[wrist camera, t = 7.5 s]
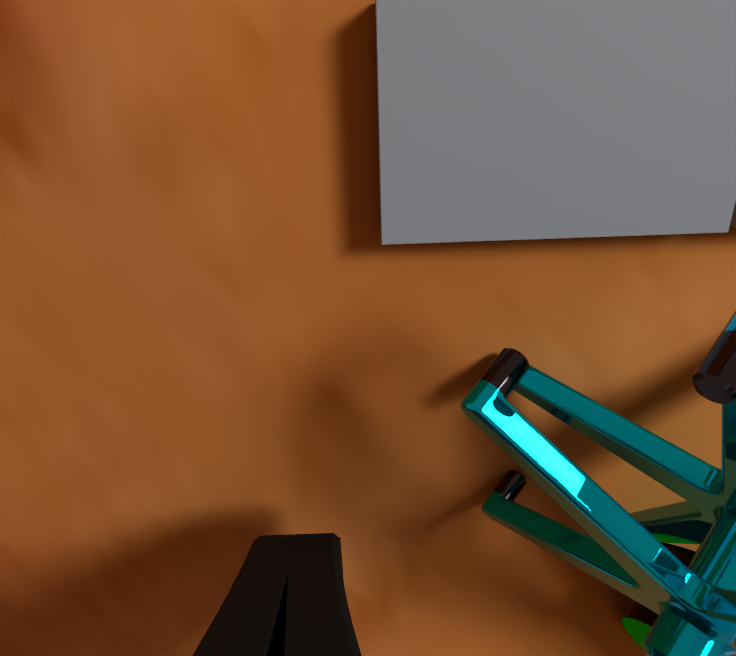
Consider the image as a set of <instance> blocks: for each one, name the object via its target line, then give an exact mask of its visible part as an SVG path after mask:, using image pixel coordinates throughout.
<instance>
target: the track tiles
mask: <svg viewBox="0 0 736 656" xmlns="http://www.w3.org/2000/svg"><path fill="white" fill-rule="evenodd" d="M375 18H376V60H377V101H378V143H379V185H380V226H381V240H382V245H386V244H414V243H442V242H470V241H499V240H527V239H555V238H583V237H611V236H639V235H667V234H695V233H723V232H728V231H729V226H730V225H731V226H732V227H734V228H736V0H375Z"/></svg>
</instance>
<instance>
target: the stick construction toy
mask: <svg viewBox="0 0 736 656" xmlns="http://www.w3.org/2000/svg"><path fill="white" fill-rule="evenodd" d="M691 381H692V384H693V386H694V388H695V389H696V391H697V392H698V393H699V394H700V395H702V396H703V397H705V398H706V399H708V400H710V401H713V402H716V403H720V404H722V469H719V468H716V467H714V466H712V465H710V464H708V463H706V462H704V461H703V460H701V459H699V458H697V457H695V456H694V455H692V454H690V453H688V452H686V451H685V450H683V449H681V448H679V447H677V446H676V445H674V444H672V443H670V442H668V441H666V440H665V439H663V438H661V437H659V436H657V435H656V434H654V433H652V432H650V431H648V430H647V429H645V428H643V427H641V426H639V425H638V424H636V423H634V422H632V421H630V420H628V419H627V418H625V417H623V416H621V415H619V414H618V413H616V412H614V411H612V410H610V409H609V408H607V407H605V406H603V405H601V404H599V403H598V402H596V401H594V400H592V399H590V398H589V397H587V396H585V395H583V394H581V393H580V392H578V391H576V390H574V389H572V388H571V387H569V386H567V385H565V384H563V383H561V382H560V381H558V380H556V379H554V378H552V377H551V376H549V375H547V374H545V373H543V372H542V371H540V370H538V369H536V368H534V367H533V366H531V365H529V362H528V360H527V358H526V357H525V356H524V355H523V354H522V353H520V352H519V351H517V350H515V349H512V348H504V349H503V350H502V351H501V352H500V354H499V355H498V356H497V357H496V359H495V360H494V361H493V362H492V364H491V365H490V366H489V367H488V369H487V370H486V371H485V372H484V374H483V375H482V376H481V377H480V379H479V380H478V381H477V382H476V384H475V385H474V386H473V387H472V389H471V390H470V391H469V392H468V394H467V395H466V396H465V397H464V399H463V400H462V402H461V408H462V410H463V412H464V413H465V414H466V415H467V416H468V417H469V418H470V419H471V420H472V421H473V422H474V423H475V424H476V425H477V426H478V427H479V428H480V429H481V430H482V431H483V432H484V433H485V434H486V435H487V436H488V437H489V438H491V439H492V440H493V441H494V442H495V443H496V444H497V445H498V446H499V447H500V448H501V449H502V450H503V451H504V452H505V453H506V454H507V455H508V456H509V457H510V458H511V459H512V460H513V461H514V462H515V463H516V464H517V465H518V466H519V467H520V468H521V469H522V470H523V471H524V472H525V473H526V474H527V475H528V476H529V477H530V478H531V479H532V480H533V481H534V482H535V483H536V484H538V485H539V486H540V487H541V488H542V489H543V490H544V491H545V492H546V493H547V494H548V495H549V496H550V497H551V498H552V499H553V500H554V501H555V502H556V503H557V504H558V505H559V506H560V507H561V508H562V509H563V510H564V511H565V512H566V513H567V514H568V515H569V516H570V517H571V518H572V519H573V520H574V521H575V522H576V523H577V524H578V525H579V526H580V527H581V528H582V529H583V530H585V531H586V532H587V533H588V534H589V535H590V536H591V537H589V536H587V535H585V534H583V533H581V532H579V531H576V530H574V529H572V528H570V527H568V526H566V525H563V524H561V523H559V522H557V521H555V520H552V519H550V518H548V517H546V516H544V515H542V514H540V513H537V512H535V511H533V510H531V509H529V508H527V507H524V506H522V505H520V504H518V503H516V502H514V500H515V498H516V497H517V496H518V494H519V493H520V491H521V490H522V489H523V487H524V486H525V485H526V483H527V482H526V479H525V477H524V476H523V475H522V474H520V473H519V472H518V471H516V470H510V471H509V472H507V473H506V474H505V475H504V477H503V478H502V479H501V481H500V482H499V483H498V485H497V486H496V487H495V489H494V490H493V492H492V493H491V494H490V496H489V497H488V498H487V500H486V501H485V502H484V504H483V505H482V511H483V512H484V513H485V514H486V515H487V516H488V517H489V518H491V519H492V520H494V521H496V522H498V523H499V524H501V525H503V526H505V527H506V528H508V529H510V530H512V531H513V532H515V533H517V534H519V535H520V536H522V537H524V538H526V539H527V540H529V541H531V542H533V543H534V544H536V545H538V546H540V547H541V548H543V549H545V550H547V551H549V552H550V553H552V554H554V555H556V556H557V557H559V558H561V559H563V560H564V561H566V562H568V563H570V564H571V565H573V566H575V567H577V568H578V569H580V570H582V571H584V572H585V573H587V574H589V575H591V576H592V577H594V578H596V579H598V580H599V581H601V582H603V583H605V584H606V585H608V586H610V587H612V588H613V589H615V590H617V591H619V592H620V593H622V594H624V595H626V596H628V597H629V598H631V599H633V600H635V601H634V602H632V604H631V606H630V607H629V609H628V611H627V612H626V614H625V615H624V617H623V619H622V624H623V626H624V628H625V629H626V631H627V632H628V633H629V635H630V636H631V637H632V638H633V639H634V640H635V642H636V643H637V644H638V645H639V646H640V647H641V648H642V649H643V650H644V654H645V656H736V311H735V313H734V314H733V316H732V317H731V319H730V320H729V322H728V323H727V325H726V326H725V328H724V329H723V331H722V332H721V334H720V335H719V337H718V338H717V340H716V341H715V343H714V344H713V346H712V347H711V349H710V350H709V352H708V353H707V355H706V356H705V358H704V359H703V361H702V362H701V364H700V365H699V367H698V369H697V370H696V372H695V373H694V375H693V376H692V379H691ZM513 390H514V391H516V392H517V393H519V394H521V395H522V396H524V397H525V398H527V399H528V400H530V401H532V402H533V403H535V404H536V405H538V406H539V407H541V408H543V409H544V410H546V411H547V412H549V413H550V414H552V415H554V416H555V417H557V418H558V419H560V420H562V421H563V422H565V423H566V424H568V425H569V426H571V427H573V428H574V429H576V430H577V431H579V432H580V433H582V434H584V435H585V436H587V437H588V438H590V439H591V440H593V441H595V442H596V443H598V444H599V445H601V446H602V447H604V448H606V449H607V450H609V451H610V452H612V453H613V454H615V455H617V456H618V457H620V458H621V459H623V460H624V461H626V462H628V463H629V464H631V465H632V466H634V467H635V468H637V469H639V470H640V471H642V472H643V473H645V474H646V475H648V476H650V477H651V478H653V479H654V480H656V481H657V482H659V483H661V484H662V485H664V486H665V487H667V488H668V489H670V490H672V491H673V492H675V493H676V494H678V495H679V496H681V497H683V498H684V499H686V500H687V501H683V502H679V503H674V504H670V505H665V506H660V507H656V508H651V509H647V510H642V511H638V512H633V513H628V512H627V511H626V510H625V509H624V508H623V507H622V506H621V505H619V504H618V503H617V502H616V501H615V500H614V499H613V498H612V497H611V496H610V495H609V494H608V493H607V492H605V491H604V490H603V489H602V488H601V487H600V486H599V485H598V484H597V483H596V482H595V481H594V480H593V479H591V478H590V477H589V476H588V475H587V474H586V473H585V472H584V471H583V470H582V469H581V468H580V467H579V466H578V465H576V464H575V463H574V462H573V461H572V460H571V459H570V458H569V457H568V456H567V455H566V454H565V453H564V452H562V451H561V450H560V449H559V448H558V447H557V446H556V445H555V444H554V443H553V442H552V441H551V440H550V439H548V438H547V437H546V436H545V435H544V434H543V433H542V432H541V431H540V430H539V429H538V428H537V427H536V426H534V425H533V424H532V423H531V422H530V421H529V420H528V419H527V418H526V417H525V416H524V415H523V414H522V413H520V412H519V411H518V410H517V409H516V408H515V407H514V406H513V405H512V404H511V403H510V402H509V401H508V400H506V399H507V398H508V396H509V395H510V394H511V392H512V391H513ZM662 542H663V543H662ZM667 543H683V544H701V545H700V547H699V548H698V550H697V552H695V551H692V550H689V549H686V548H683V547H679V546H675V545H671V544H667Z"/></svg>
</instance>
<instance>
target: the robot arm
mask: <svg viewBox="0 0 736 656" xmlns="http://www.w3.org/2000/svg"><path fill="white" fill-rule="evenodd" d="M193 656H361V652H360V649H359V645H358V642H357V638H356V635H355V631H354V628H353V624H352V620H351V616H350V612H349V608H348V603H347V598H346V594H345V589H344V581H343V568H342V555H341V541H340V538H339V537H338V536H336V535H335V534H334V533H322V534H295V535H268V536H259V537H258V538H257V539H256V540H254V541H253V544H252V546H251V548H250V550H249V553H248V555H247V557H246V559H245V561H244V563H243V565H242V567H241V570H240V572H239V574H238V576H237V577H236V579H235V581H234V583H233V585H232V587H231V589H230V591H229V593H228V595H227V596H226V598H225V600H224V602H223V604H222V606H221V608H220V609H219V611H218V613H217V615H216V616H215V618H214V620H213V622H212V623H211V625H210V627H209V628H208V630H207V632H206V634H205V635H204V637H203V639H202V640H201V642H200V644H199V646H198V647H197V649H196V651H195V652H194V654H193Z"/></svg>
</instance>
